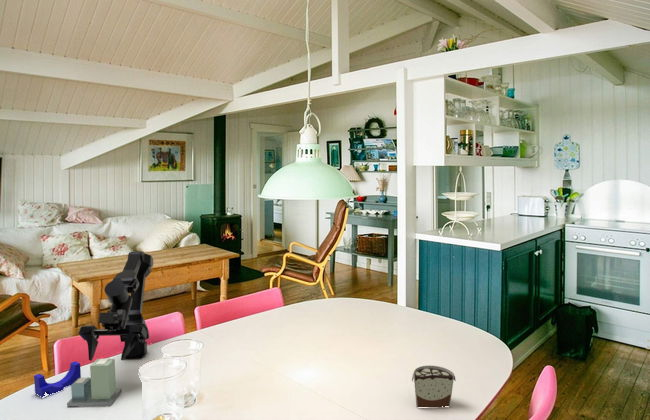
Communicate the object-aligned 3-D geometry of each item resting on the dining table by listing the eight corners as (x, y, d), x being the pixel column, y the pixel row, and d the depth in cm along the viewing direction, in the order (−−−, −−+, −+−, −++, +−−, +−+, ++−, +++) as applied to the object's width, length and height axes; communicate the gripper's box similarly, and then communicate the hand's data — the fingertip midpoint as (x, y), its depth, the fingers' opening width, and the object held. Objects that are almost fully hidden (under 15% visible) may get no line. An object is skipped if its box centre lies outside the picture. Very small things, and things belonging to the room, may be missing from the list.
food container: (448, 396, 131) (449, 364, 130) (455, 407, 125) (456, 373, 124) (407, 397, 130) (407, 364, 130) (411, 408, 124) (412, 374, 123)
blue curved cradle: (42, 399, 129) (41, 379, 129) (35, 394, 132) (34, 375, 131) (83, 382, 139) (82, 364, 139) (76, 379, 142) (75, 361, 141)
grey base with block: (67, 407, 125) (66, 387, 124) (81, 393, 132) (80, 374, 132) (110, 405, 125) (109, 386, 125) (121, 391, 133) (121, 373, 133)
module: (91, 399, 127) (90, 364, 126) (98, 391, 131) (97, 358, 130) (109, 398, 127) (107, 364, 126) (116, 391, 131) (114, 357, 130)
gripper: (79, 300, 133) (62, 350, 124) (142, 299, 135) (130, 349, 125) (92, 316, 142) (77, 364, 132) (151, 315, 143) (141, 363, 133)
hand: (106, 360), depth 130 cm, fingers open, 9 cm apart
